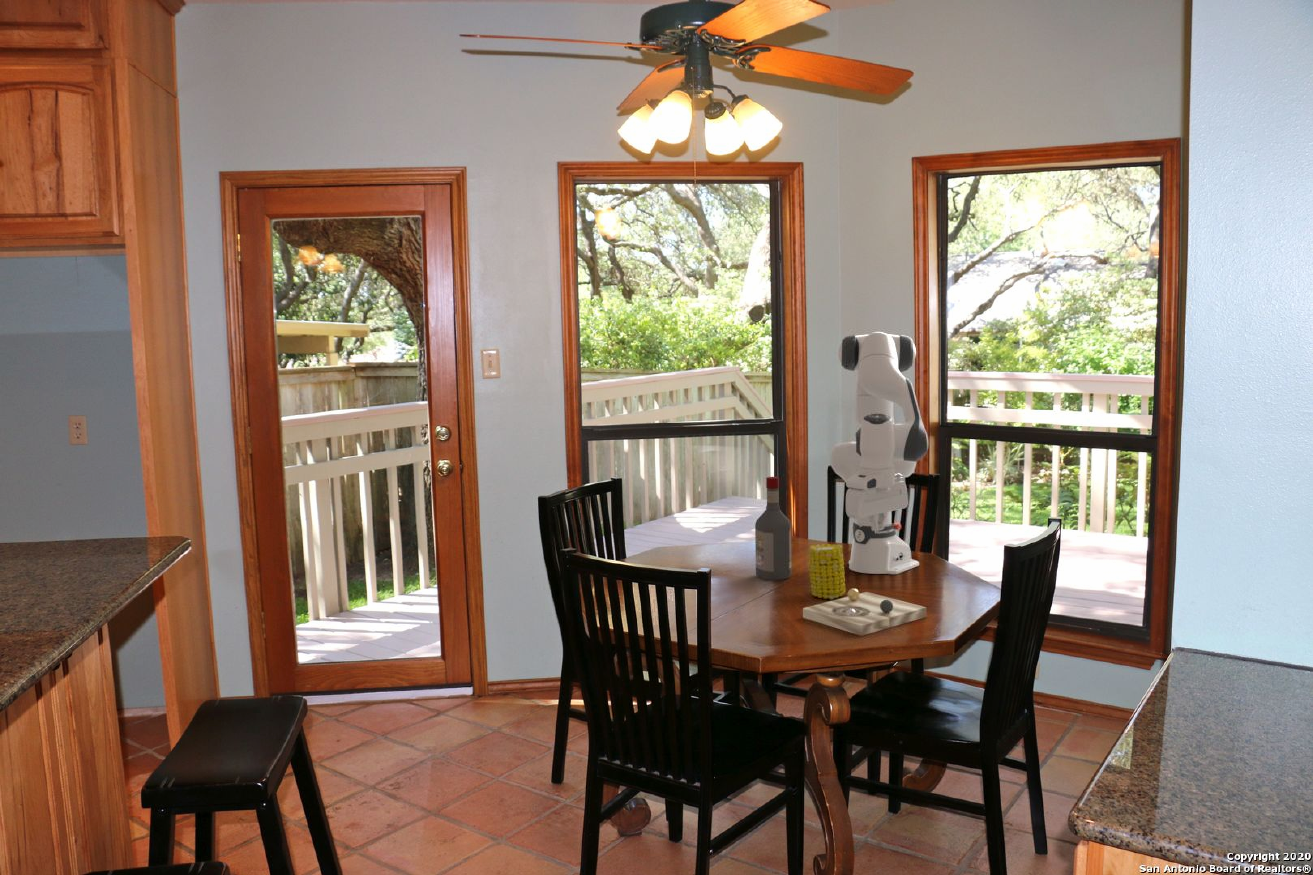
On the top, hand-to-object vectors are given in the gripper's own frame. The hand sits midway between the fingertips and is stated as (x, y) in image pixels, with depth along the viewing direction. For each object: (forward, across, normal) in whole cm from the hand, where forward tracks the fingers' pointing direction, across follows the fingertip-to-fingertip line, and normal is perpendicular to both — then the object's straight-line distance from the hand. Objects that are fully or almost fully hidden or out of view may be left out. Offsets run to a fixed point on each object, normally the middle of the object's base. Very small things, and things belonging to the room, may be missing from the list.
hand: (877, 530), depth 263 cm
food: (+22, 0, -19) cm, 29 cm away
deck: (+21, +8, +2) cm, 23 cm away
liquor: (+22, -4, -44) cm, 49 cm away
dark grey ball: (+17, +7, +9) cm, 20 cm away
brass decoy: (+17, +5, -4) cm, 18 cm away
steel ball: (+20, +13, +2) cm, 23 cm away
